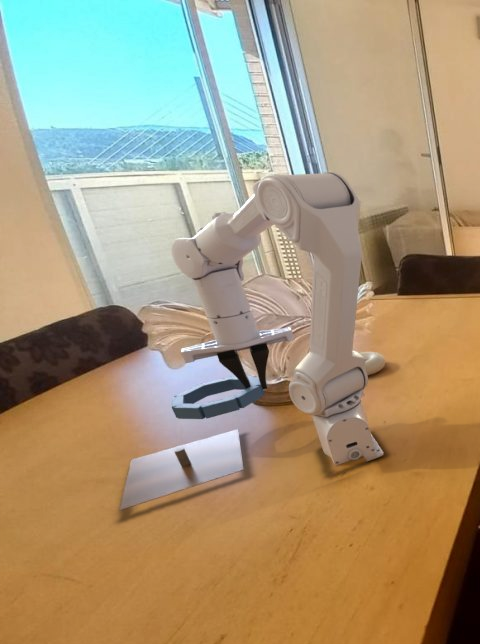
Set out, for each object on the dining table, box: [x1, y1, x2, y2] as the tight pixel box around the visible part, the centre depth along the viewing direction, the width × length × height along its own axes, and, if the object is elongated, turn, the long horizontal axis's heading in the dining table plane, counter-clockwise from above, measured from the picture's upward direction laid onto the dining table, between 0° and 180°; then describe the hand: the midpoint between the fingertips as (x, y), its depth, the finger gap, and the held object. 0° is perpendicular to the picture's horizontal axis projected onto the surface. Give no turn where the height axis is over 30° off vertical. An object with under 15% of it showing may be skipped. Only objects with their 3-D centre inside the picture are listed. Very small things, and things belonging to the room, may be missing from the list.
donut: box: [359, 351, 387, 376], centre depth 110 cm, size 10×3×10 cm
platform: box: [118, 428, 245, 511], centre depth 74 cm, size 16×14×4 cm
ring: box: [171, 375, 265, 420], centre depth 78 cm, size 11×11×2 cm
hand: (257, 389), depth 81 cm, fingers closed on ring, 1 cm apart
